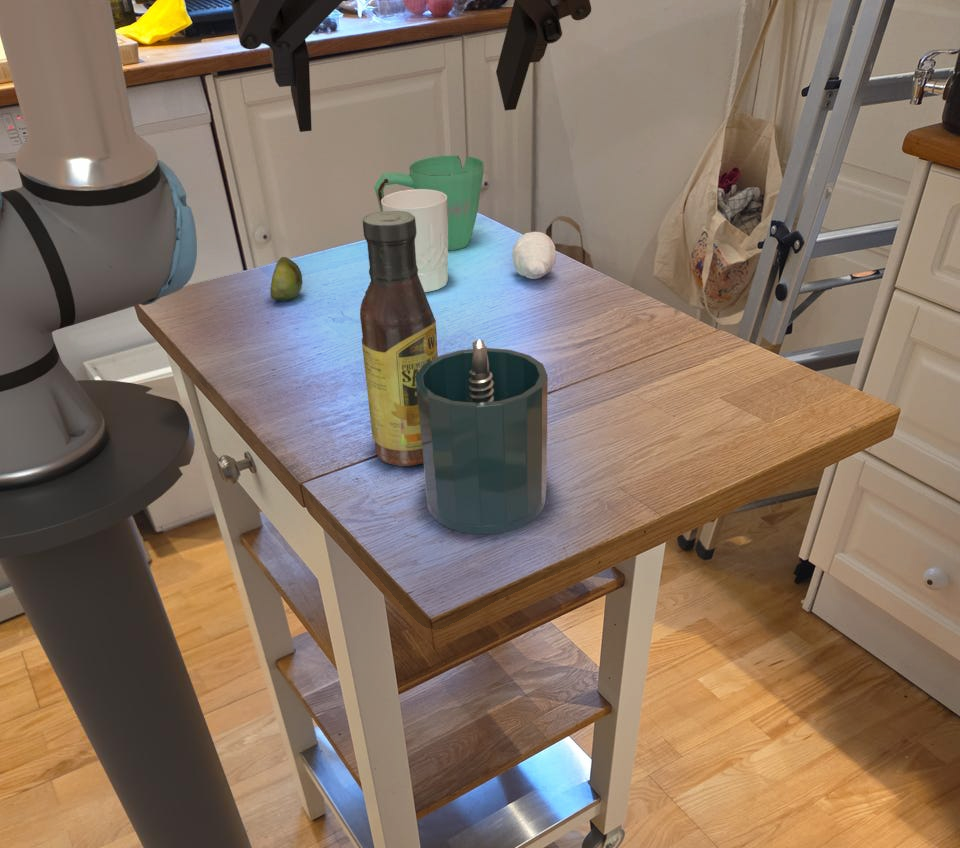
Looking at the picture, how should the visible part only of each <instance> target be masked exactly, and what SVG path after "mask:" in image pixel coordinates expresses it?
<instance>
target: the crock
mask: <svg viewBox="0 0 960 848" xmlns="http://www.w3.org/2000/svg"><path fill="white" fill-rule="evenodd" d="M487 355H488V361H489V371H490V372H491V373H492V375H493V376H492V378H491V379H492V380H493V382H494V384H493V386H492V387H493V389H494V392H493V393H492V394H493V396H494V400H493V402H482V403H471V402H470V400H472V397H470V396H469V394H470V393H471V390H470V389H469V386H470V385H471V382H470V381H469V379H470V378H471V376H472V374H470V373H469V372H470V371H471V370H472V358H473V348H470V349H461V350H460V349H459V350H457V351H453V352H448V353H445V354H441V355H438V357H437V358H435V359H433V360H431V361H430V362H428V363H426V364H424V365H423V366H422V367H421V369H420V370H419V372H418V373H417V374H416V376H415V382H416V393H417V403H418V414H419V424H420V435H421V445H422V455H423V463H422V464H423V474H424V476H423V477H424V485H425V486H424V487H425V494H426V504H427V510H428V511H429V514H430V515H431V516H432V518H433V519H434V520H435V521H436V522H438V523H439V524H440V525H442V526H444V527H446V528H448V529H451V530H453V531H457V532H461V533H465V534H472V535H473V534H474V535H494V534H495V535H496V534H501V533H506V532H510V531H514V530H516V529H519V528H523V527H524V526H526V525H528V524H530V523H531V522H532V521H534V520H535V519H536V518H537V517H539V515H540V514H541V513H542V511H543V509H544V508H545V504H546V495H547V484H548V483H547V478H548V475H547V473H548V471H547V469H548V468H547V467H548V466H547V465H548V386H549V384H548V383H549V382H548V381H549V380H548V378H549V377H548V372H547V370H546V368H545V365H544V364H543V363H542V362H540V361H539V360H538V359H536V358H534V357H533V356H532V355H529V354H526V353H523V352H520V351H516V350H512V349H507V348H506V349H505V348H493V347H487Z"/></svg>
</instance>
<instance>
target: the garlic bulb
mask: <svg viewBox="0 0 960 848" xmlns="http://www.w3.org/2000/svg"><path fill="white" fill-rule="evenodd" d="M556 257H557V252H556V246H555V244H554V242H553V240H552V238H551V237H550V236H549V235H547V234H546V233H544V232H542V231H529V232H526V233H524V234H523V235H521V236H520V237H519V238H518V239H517V241H516V242H515V244H514V245H513V248H512V251H511V258H512V262H513V266H514V269H515V270H516V271H517V273H518V275H520V276H521V277H526V278H528V279H531V280H537V279H540V278H543V277H544V276H546V275H547V274H548V273H550V271H551V270H552V269H553V267H554V266H555V264H556Z"/></svg>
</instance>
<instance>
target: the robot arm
mask: <svg viewBox="0 0 960 848" xmlns="http://www.w3.org/2000/svg"><path fill="white" fill-rule="evenodd" d="M344 1H345V0H230V5H231V8H232V13H233V19H234V22H235V23H234V24H235V27H236V32H237V36H238V40H239V44H240V46H241V47H242V48H243V49H246V50H256V49H257V48H260V46H261V45H266V46H268V47H269V57H270V62H271V67H272V71H273V76H274V80H275V83H276V84H277V86H278V87H279V88H285V87H290V93H291V98H292V102H293V107H294V111H295V116H296V121H297V125H298V130H299V133H303V132H304V133H305V132H312V128H313V127H312V105H311V104H312V103H311V101H312V100H311V77H310V76H311V75H310V72H311V71H310V54H309V50H308V46H307V41H306V39H307V38H308V37H309V36H310V35H311V34H312V33H313V32H314V31H315V30H316V29H317V28H318V27H319V26H320V25H321V24H322V23H323V22H324V21H325V20H326V19H327V18H328V17H329V16H330V15H331V14H332V13H333V12H334V11H335V10H337V8H338V7H339V6H341V4H342V3H343V2H344ZM591 12H592V5H591V0H514V1H513V5H512V8H511V12H510V16H509V20H508V24H507V28H506V32H505V35H504V39H503V43H502V46H501V51H500V56H499V58H498V63H497V67H496V70H495V74H496V78H497V83H498V87H499V91H500V96H501V100H502V104H503V109H504V111H513V110H517V107H518V105H519V104H518V103H519V100H520V97H521V93H522V90H523V88H524V84H525V81H526V77H527V74H528V72H529V71H528V70H529V67H530V65H531V63H539V62H540V61H541V60H542V59H543V58H544V56H545V54H546V50H547V49H548V44H549V45H550V44H554V43H556V42H559V40H560V39H561V38H562V36H563V30H562V26H561V25H562V24H561V21H560V20H561V19H564V18H566V17H569V16H570V17H571V18H572V20H574V21H583V20H584V19H586V18H588V17H589V16H590V14H591ZM0 40H1V44H2V47H3V50H4V55H5V59H6V62H7V65H8V69H9V73H10V76H11V79H12V80H11V81H12V83H13V84H12V85H13V88H14V89H15V94H16V97H17V101H18V105H19V108H20V112H21V116H22V119H23V123H24V127H25V130H26V135H27V137H26V138H25V140H24V142H23V143H22V144H21V146H20V147H19V149H18V150H17V151H16V154H15V165H16V167H17V171H18V175H19V178H20V180H21V181H20V182H21V187H18V188H17V187H16V188H13V189H9V190H5V191H1V190H0V491H9V490H17V489H23V488H28V487H32V486H36V485H40V484H44V483H47V482H50V481H53V480H56V479H58V478H61V477H63V476H66V475H68V474H70V473H72V472H74V471H76V470H78V469H80V468H81V467H83V466H84V465H86V464H87V463H89V462H90V461H92V460H93V459H94V458H95V457H96V456H97V455H98V454H100V452H101V451H102V450H103V449H104V447H105V446H106V444H107V442H108V438H109V433H108V429H107V427H106V424H105V421H104V418H103V416H102V413H101V412H100V410H99V409H98V408H97V406H96V405H95V404H94V402H93V401H92V400H91V399H90V397H89V396H88V395H87V393H86V392H85V391H84V390H83V388H82V387H81V386H80V384H79V383H78V382H77V381H78V380H77V379H76V378H75V376H73V374H72V373H71V371H70V370H69V369H68V368H67V366H66V365H65V364H64V362H63V360H62V358H61V355H60V352H59V351H58V348H57V345H56V343H55V340H54V336H53V332H56V331H58V330H62V329H65V328H67V327H71V326H75V325H78V324H82V323H85V322H87V321H91V320H94V319H97V318H100V317H104V316H107V315H110V314H113V313H117V312H119V311H123V310H127V309H130V308H133V307H136V306H140V305H141V306H147V305H150V304H151V305H152V304H153V303H156V302H157V301H158V300H160V299H161V298H163V297H164V298H165V297H167V296H169V295H172V294H174V293H176V292H177V293H178V292H179V291H181V290H182V289H183V288H184V287H185V286H186V285H187V284H188V283H189V281H190V280H191V279H192V276H193V274H194V271H195V268H196V263H197V257H198V238H197V229H196V222H195V219H194V214H193V210H192V207H191V206H189V205H188V203H187V193H186V190H185V188H184V186H183V184H182V182H181V181H180V178H179V177H178V176H177V174H176V173H175V172H174V171H173V169H172V168H171V167H170V166H168V165H167V164H166V163H165V162H163V161H162V160H160V159H159V158H158V153H157V151H156V149H155V148H154V146H152V145H151V143H150V142H148V141H147V140H146V139H144V138H143V137H142V136H140V135H139V134H138V133H137V132H136V130H135V126H134V121H133V116H132V111H131V110H132V109H131V105H130V100H129V94H128V88H127V84H126V78H125V74H124V68H123V63H122V57H121V53H120V48H119V42H118V37H117V31H116V27H115V21H114V16H113V11H112V5H111V1H110V0H0Z"/></svg>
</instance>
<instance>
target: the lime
mask: <svg viewBox="0 0 960 848" xmlns="http://www.w3.org/2000/svg"><path fill="white" fill-rule="evenodd" d="M303 282H304V281H303V274H302V270H301V268H300V267H299V265H298V264H297V263H296V262H295V261H293V260H292V259H290V258H289V257H287V256H281V257H280V258H279V259H278V261H277V262H276V265H275V267H274V270H273V274H272V277H271V282H270V287H269V289H270V297H271V299H273V300H275V301H279V302H288V301H291V300H293V299H294V298H297V297H298V295H299V294H300V292H301V290H302V288H303Z"/></svg>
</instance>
